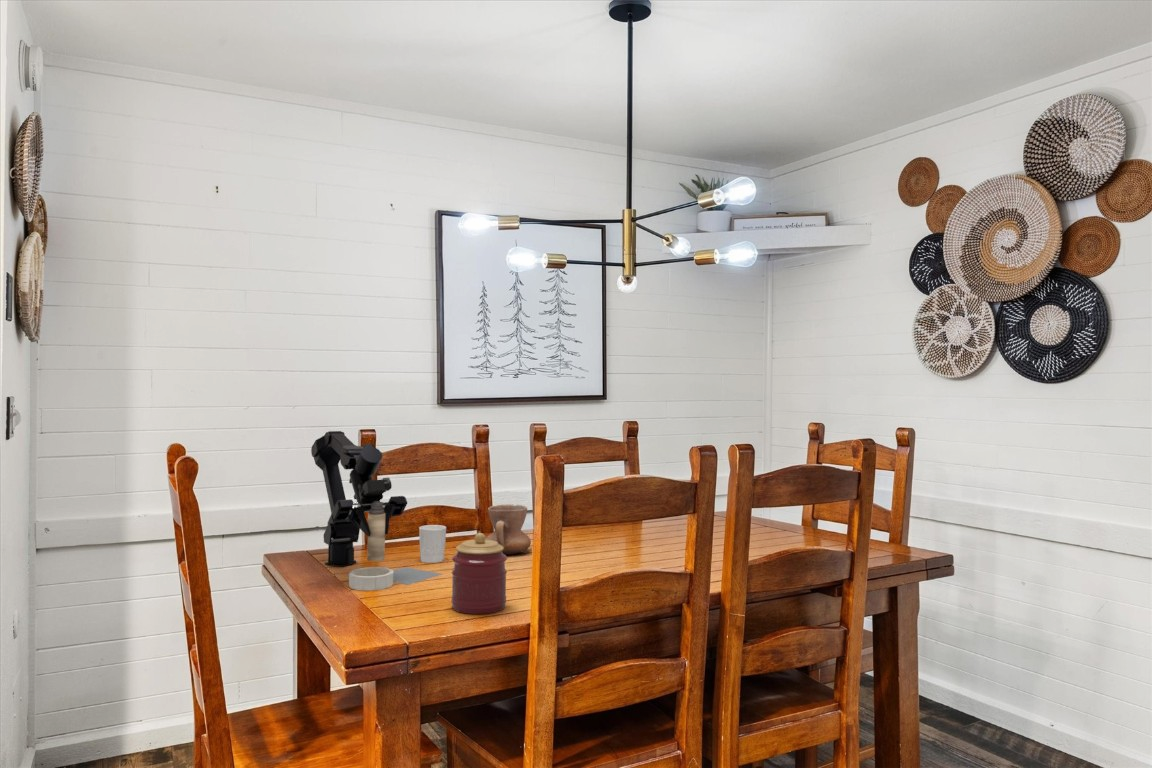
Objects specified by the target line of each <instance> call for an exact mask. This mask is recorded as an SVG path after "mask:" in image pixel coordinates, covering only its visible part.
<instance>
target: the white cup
mask: <svg viewBox="0 0 1152 768" xmlns="http://www.w3.org/2000/svg"><path fill="white" fill-rule="evenodd" d="M418 530H419V531H418V532H419V533H418V534H419V536H418V538H419V540H418V541H419V554H420V562H422V563H427V564H429V563H430V564H435V563H440V562H443V561H445V560H444V559H445V551H446V538H447V526H445V525H440V524H427V525H422V526H419V529H418Z"/></svg>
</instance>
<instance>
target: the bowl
mask: <svg viewBox="0 0 1152 768" xmlns="http://www.w3.org/2000/svg"><path fill="white" fill-rule="evenodd" d="M394 570H395V569H391V568H389V567H382V566H367V567H359V568H355V569H352V570H350V571H349V572H348V586H349V589H352V590H356V591H367V592H368V591H379V590H386V589H389V588H391V587H392V586H393V585H394V582H393V576H394Z"/></svg>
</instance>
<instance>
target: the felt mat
mask: <svg viewBox="0 0 1152 768" xmlns="http://www.w3.org/2000/svg"><path fill="white" fill-rule="evenodd" d="M393 570H394V576H393V583H395V584H396V583H397V584H402V585H406V586H409V585H413V584H416V583H419V582H422V581H426V580H429V579H433V578H435V577H438V576H441V575H443V573H440V572H434V571H428V570H423V569H419V568H413V567H406V566H403V567H401V568H395V569H393Z"/></svg>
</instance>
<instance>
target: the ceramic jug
mask: <svg viewBox="0 0 1152 768" xmlns="http://www.w3.org/2000/svg"><path fill="white" fill-rule="evenodd" d="M487 512H488V517H489V520H490V521H491V524H492V527H493V529H494V531H493V532H492V533H490V534H489V535H488V536H486V540H493V541H496V542H498V544H500V545H501V546H503V547H504V549H503V550H502V553H503V554H504V555H515V554H516V553H517V554H522V553H524V552H525V551H527V550H528V549H529V548H530V546H531V545H532V544H531V543H532V542H531V537H530V536H529V535H527V533H525V532H524V531H522V529H523V526H524V524H525V520H526V517H527V513H528V506H526V505H522V504H515V505H514V504H512V503H510V504H509V503H507V504H506V503H505V504H503V503H502V504H495V505H491V506H489V507H488V508H487Z"/></svg>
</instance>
